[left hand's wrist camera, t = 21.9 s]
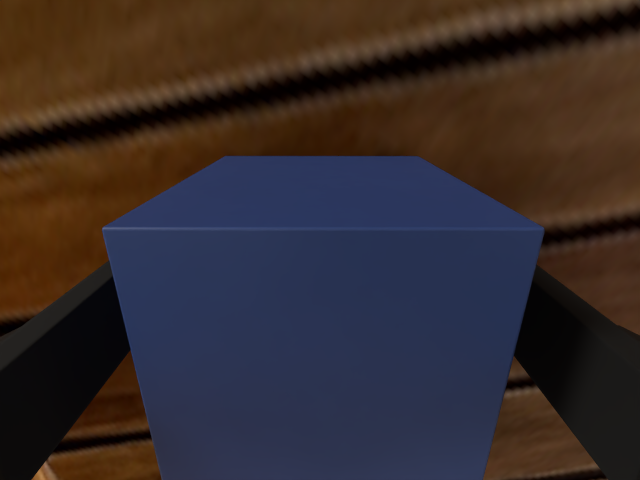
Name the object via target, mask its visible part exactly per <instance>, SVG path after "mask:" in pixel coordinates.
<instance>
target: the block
mask: <svg viewBox="0 0 640 480" xmlns="http://www.w3.org/2000/svg"><path fill="white" fill-rule="evenodd" d="M102 232H103V236H104V240H105V244H106V248H107V253H108V257H109V261H110V265H111V269H112V273H113V278H114V282H115V286H116V290H117V294H118V298H119V303H120V307H121V311H122V315H123V319H124V323H125V328H126V332H127V336H128V340H129V344H130V349H131V353H132V357H133V361H134V365H135V369H136V374H137V378H138V382H139V386H140V390H141V394H142V399H143V403H144V407H145V411H146V415H147V419H148V424H149V428H150V432H151V436H152V440H153V445H154V449H155V453H156V457H157V461H158V465H159V470H160V474H161V478H162V480H483V477H484V473H485V469H486V465H487V461H488V457H489V453H490V449H491V445H492V441H493V437H494V433H495V428H496V424H497V420H498V416H499V412H500V408H501V404H502V400H503V396H504V392H505V388H506V384H507V380H508V376H509V372H510V368H511V364H512V360H513V356H514V352H515V348H516V344H517V340H518V336H519V332H520V328H521V324H522V320H523V316H524V312H525V308H526V304H527V300H528V296H529V292H530V287H531V283H532V279H533V275H534V271H535V267H536V263H537V259H538V255H539V251H540V247H541V243H542V239H543V235H544V228H543V227H542V226H540V225H538V224H536V223H535V222H533V221H531V220H529V219H528V218H526V217H524V216H522V215H521V214H519V213H517V212H515V211H514V210H512V209H510V208H508V207H506V206H505V205H503V204H501V203H499V202H498V201H496V200H494V199H492V198H491V197H489V196H487V195H485V194H484V193H482V192H480V191H478V190H477V189H475V188H473V187H471V186H469V185H468V184H466V183H464V182H462V181H461V180H459V179H457V178H455V177H454V176H452V175H450V174H448V173H447V172H445V171H443V170H441V169H440V168H438V167H436V166H434V165H433V164H431V163H429V162H427V161H425V160H424V159H422V158H420V157H418V156H225V157H223V158H221V159H220V160H218V161H216V162H214V163H213V164H211V165H209V166H207V167H206V168H204V169H202V170H201V171H199V172H197V173H195V174H194V175H192V176H190V177H189V178H187V179H185V180H183V181H182V182H180V183H178V184H177V185H175V186H173V187H171V188H170V189H168V190H166V191H165V192H163V193H161V194H159V195H158V196H156V197H154V198H153V199H151V200H149V201H147V202H146V203H144V204H142V205H141V206H139V207H137V208H135V209H134V210H132V211H130V212H128V213H127V214H125V215H123V216H122V217H120V218H118V219H116V220H115V221H113V222H111V223H110V224H108V225H106V226H104V227H103V229H102Z"/></svg>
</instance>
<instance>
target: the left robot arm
mask: <svg viewBox="0 0 640 480" xmlns="http://www.w3.org/2000/svg"><path fill="white" fill-rule="evenodd" d="M130 350H131V349H130V344H129V340H128V336H127V332H126V328H125V323H124V319H123V315H122V311H121V307H120V303H119V298H118V294H117V290H116V286H115V282H114V278H113V273H112V269H111V265H110V261H108V262H106V263H105V264H104V265H102V266H101V267H100V268H98V269H97V270H96V271H95V272H93V273H92V274H91V275H89V276H88V277H87V278H85V279H84V280H83V281H81V282H80V283H79V284H77V285H76V286H75V287H73V288H72V289H71V290H69V291H68V292H67V293H65V294H64V295H63V296H61V297H60V298H59V299H57V300H56V301H55V302H53V303H52V304H51V305H49V306H48V307H47V308H46V309H44V310H43V311H42V312H40V313H39V314H38V315H36V316H35V317H34V318H32V319H31V320H30V321H28V322H27V323H26V324H24V325H23V326H22V327H20V328H18V329H16V330H14V331H12V332H10V333H8V334H6V335H4V336H2V337H0V480H32V478H33V477H34V476H35V474H36V473H37V472H38V470H39V469H40V468H41V466H42V465H43V464H44V462H45V461H46V460H47V459H48V457H49V456H50V455H51V453H52V452H53V451H54V449H55V448H56V447H57V445H58V444H59V443H60V441H61V440H62V439H63V438H64V436H65V435H66V434H67V432H68V431H69V430H70V428H71V427H72V426H73V424H74V423H75V422H76V421H77V419H78V418H79V417H80V415H81V414H82V413H83V411H84V410H85V409H86V407H87V406H88V405H89V403H90V402H91V401H92V400H93V398H94V397H95V396H96V394H97V393H98V392H99V390H100V389H101V388H102V386H103V385H104V384H105V382H106V381H107V380H108V379H109V377H110V376H111V375H112V373H113V372H114V371H115V369H116V368H117V367H118V365H119V364H120V363H121V362H122V360H123V359H124V358H125V356H126V355H127V354H128V352H129V351H130ZM514 356H515V358H516V359H517V360H518V361H519V363H520V364H521V365H522V367H523V368H524V369H525V371H526V372H527V373H528V375H529V376H530V377H531V379H532V380H533V381H534V382H535V384H536V385H537V386H538V388H539V389H540V390H541V392H542V393H543V394H544V396H545V397H546V398H547V400H548V401H549V402H550V403H551V405H552V406H553V407H554V409H555V410H556V411H557V413H558V414H559V415H560V417H561V418H562V419H563V421H564V422H565V423H566V424H567V426H568V427H569V428H570V430H571V431H572V432H573V434H574V435H575V436H576V438H577V439H578V440H579V441H580V443H581V444H582V445H583V447H584V448H585V449H586V451H587V452H588V453H589V455H590V456H591V457H592V459H593V460H594V461H595V462H596V464H597V465H598V466H599V468H600V469H601V470H602V472H603V473H604V474H605V476H606V477H607V478H608V480H640V336H639V335H637V334H635V333H633V332H631V331H629V330H627V329H625V328H623V327H621V326H619V325H616V324H614V323H613V322H612V321H610V320H609V319H608V318H606V317H605V316H604V315H602V314H601V313H600V312H598V311H597V310H596V309H595V308H593V307H592V306H591V305H589V304H588V303H587V302H585V301H584V300H583V299H581V298H580V297H579V296H577V295H576V294H575V293H573V292H572V291H571V290H569V289H568V288H567V287H565V286H564V285H563V284H561V283H560V282H559V281H557V280H556V279H555V278H553V277H552V276H551V275H549V274H548V273H547V272H546V271H544V270H543V269H542V268H540V267H539V266H538V265H536V267H535V271H534V275H533V279H532V283H531V287H530V292H529V296H528V300H527V304H526V308H525V312H524V316H523V320H522V324H521V328H520V332H519V336H518V340H517V344H516V348H515V352H514Z"/></svg>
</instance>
